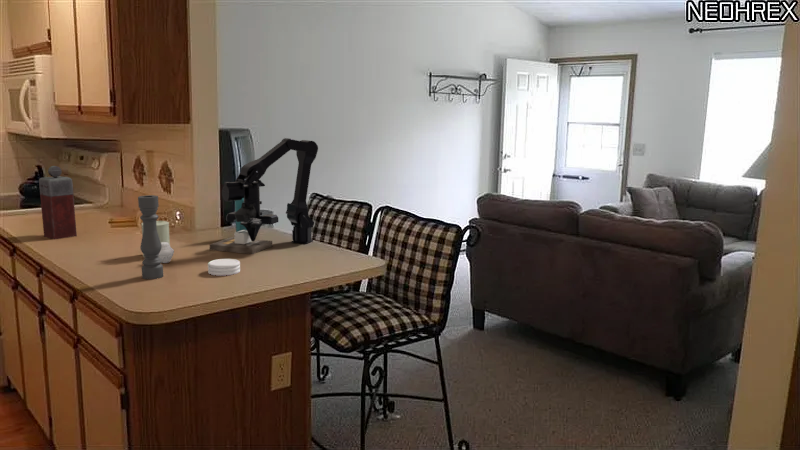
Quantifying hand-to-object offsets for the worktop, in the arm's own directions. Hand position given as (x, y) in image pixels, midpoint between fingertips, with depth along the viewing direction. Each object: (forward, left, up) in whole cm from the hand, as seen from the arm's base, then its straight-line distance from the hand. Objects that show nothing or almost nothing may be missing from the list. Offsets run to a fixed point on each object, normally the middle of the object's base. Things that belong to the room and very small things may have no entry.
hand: (253, 241), depth 240 cm
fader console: (+5, 0, -3) cm, 6 cm away
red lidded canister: (+84, +8, -3) cm, 84 cm away
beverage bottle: (+14, -16, -3) cm, 22 cm away
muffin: (+17, +28, -3) cm, 33 cm away
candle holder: (+8, +45, -3) cm, 46 cm away
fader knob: (+4, 0, -1) cm, 4 cm away
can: (+26, +21, -3) cm, 34 cm away
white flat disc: (-9, +32, -4) cm, 33 cm away
